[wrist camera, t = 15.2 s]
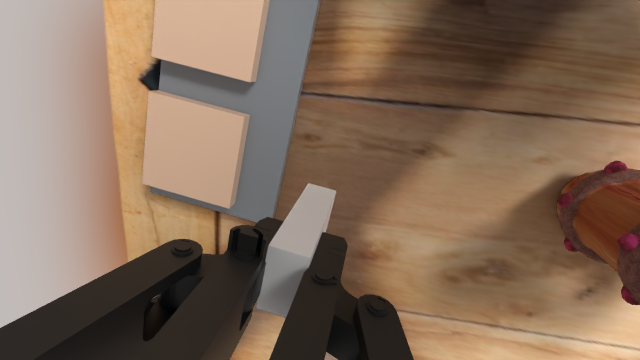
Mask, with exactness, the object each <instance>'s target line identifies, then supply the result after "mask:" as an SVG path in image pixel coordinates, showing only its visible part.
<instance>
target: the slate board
mask: <svg viewBox="0 0 640 360" xmlns="http://www.w3.org/2000/svg"><path fill="white" fill-rule="evenodd" d="M320 3H321V0H270V2H269V8H268V14H267V20H266V26H265V32H264V37H263V43H262V49H261V55H260V61H259V67H258V73H257V78H256V82H247V81H243V80H239V79H235V78H232V77H228V76H224V75H220V74H216V73H212V72H209V71H205V70H201V69H197V68H193V67H189V66H186V65H182V64H178V63H174V62H170V61H166V60H163V59H161V69H160V81H159V91H163V92H167V93H170V94H174V95H178V96H182V97H185V98H189V99H193V100H197V101H200V102H204V103H208V104H212V105H215V106H219V107H223V108H226V109H230V110H234V111H238V112H241V113H245V114H249V115H250V119H249V124H248V130H247V136H246V142H245V148H244V154H243V160H242V166H241V171H240V177H239V183H238V189H237V195H236V201H235V204H234V205H233V206H232V207H230V208H229V209H228V208H225V207H221V206H218V205H214V204H211V203H208V202H204V201H201V200H197V199H194V198H190V197H187V196H183V195H180V194H176V193H173V192H169V191H166V190H162V189H159V188H155V187H152V186H151V191H150V192H153V193H156V194H160V195H163V196H167V197H170V198H174V199H177V200H180V201H184V202H187V203H191V204H194V205H198V206H201V207H205V208H208V209H212V210H215V211H218V212H222V213H225V214H229V215H232V216H236V217H239V218H243V219H246V220H250V221H253V222H256V223H258V221H259V220H261V219H264V218H266V217H270V218H275V213H276V208H277V204H278V199H279V194H280V190H281V185H282V180H283V176H284V171H285V166H286V162H287V157H288V152H289V148H290V143H291V138H292V134H293V129H294V124H295V120H296V115H297V110H298V106H299V101H300V96H301V92H302V87H303V82H304V78H305V73H306V68H307V64H308V59H309V54H310V50H311V45H312V40H313V36H314V31H315V26H316V22H317V17H318V12H319V8H320Z"/></svg>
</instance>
